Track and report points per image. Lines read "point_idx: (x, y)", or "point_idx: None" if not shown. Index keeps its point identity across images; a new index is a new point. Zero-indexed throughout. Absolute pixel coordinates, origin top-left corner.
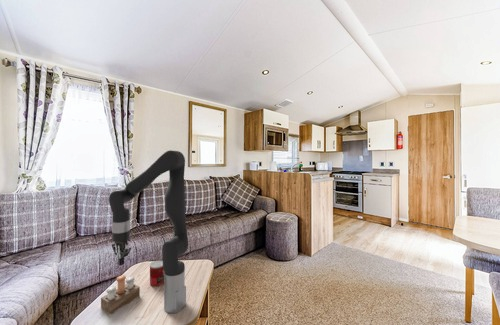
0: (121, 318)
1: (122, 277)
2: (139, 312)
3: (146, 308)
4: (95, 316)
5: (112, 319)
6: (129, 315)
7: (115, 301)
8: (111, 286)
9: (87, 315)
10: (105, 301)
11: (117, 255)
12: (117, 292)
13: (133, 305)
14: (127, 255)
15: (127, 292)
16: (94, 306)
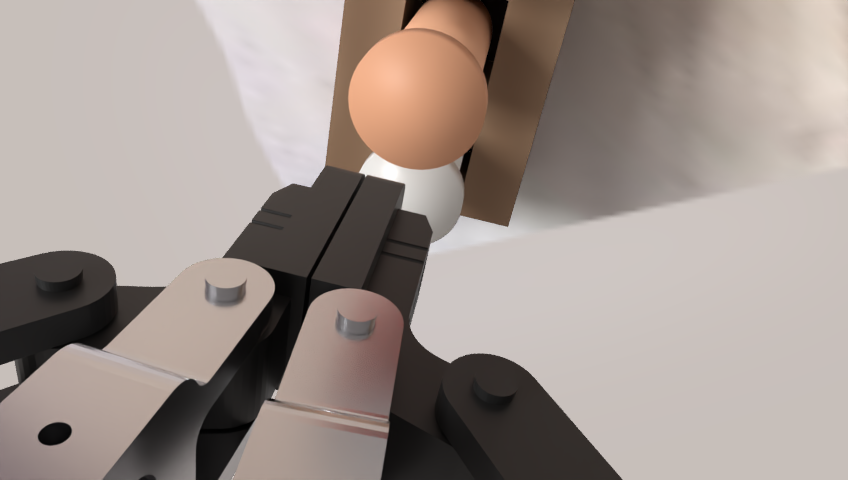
0: (655, 186)
1: (437, 98)
2: (792, 80)
3: (843, 6)
4: None
5: (581, 212)
6: (708, 139)
7: (521, 177)
8: (365, 165)
9: None
10: None
11: (198, 439)
12: None
13: (647, 12)
14: (543, 392)
15: (538, 20)
16: (272, 135)
